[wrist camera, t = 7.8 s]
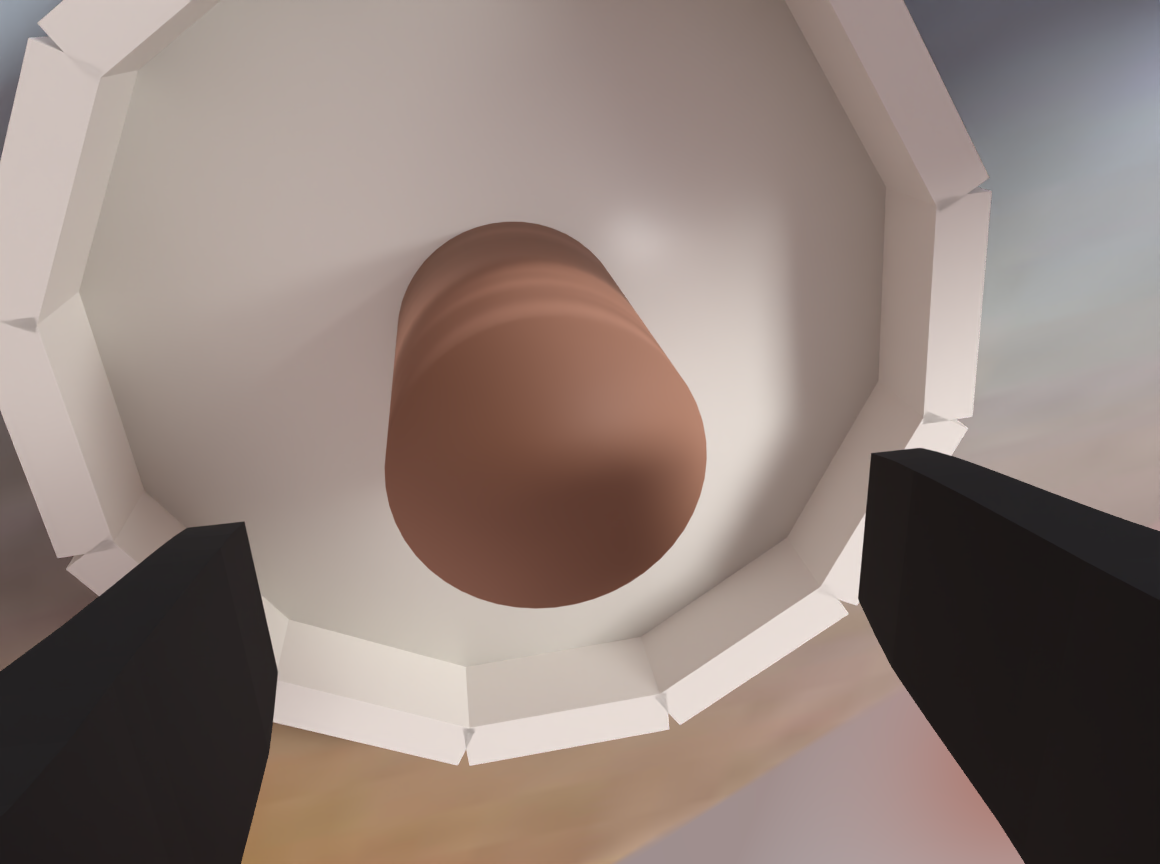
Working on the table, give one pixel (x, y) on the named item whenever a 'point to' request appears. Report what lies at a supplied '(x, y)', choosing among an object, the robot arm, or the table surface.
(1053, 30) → the table surface
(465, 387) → the brown rounded cylinder
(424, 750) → the round tray
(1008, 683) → the robot arm
